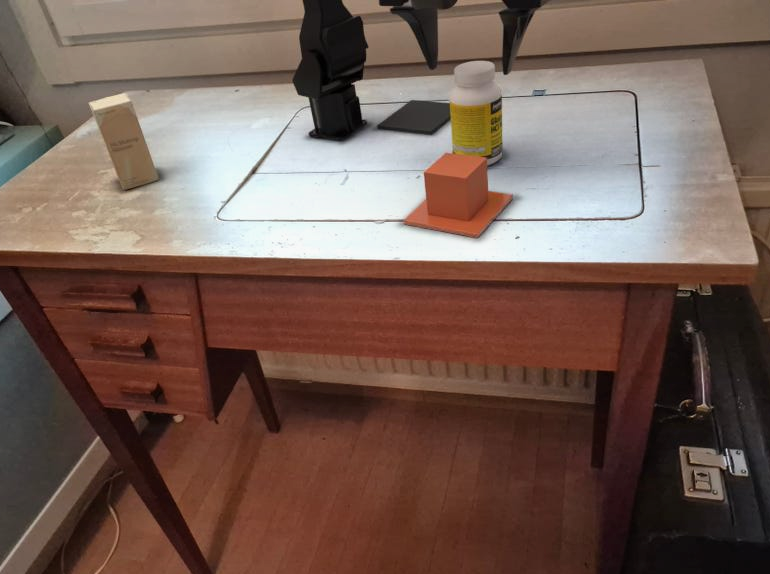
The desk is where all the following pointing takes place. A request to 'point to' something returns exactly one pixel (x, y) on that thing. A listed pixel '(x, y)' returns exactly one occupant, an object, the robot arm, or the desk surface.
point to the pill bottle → (476, 111)
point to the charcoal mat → (418, 117)
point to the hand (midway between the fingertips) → (469, 71)
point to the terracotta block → (456, 186)
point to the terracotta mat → (459, 226)
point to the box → (124, 140)
